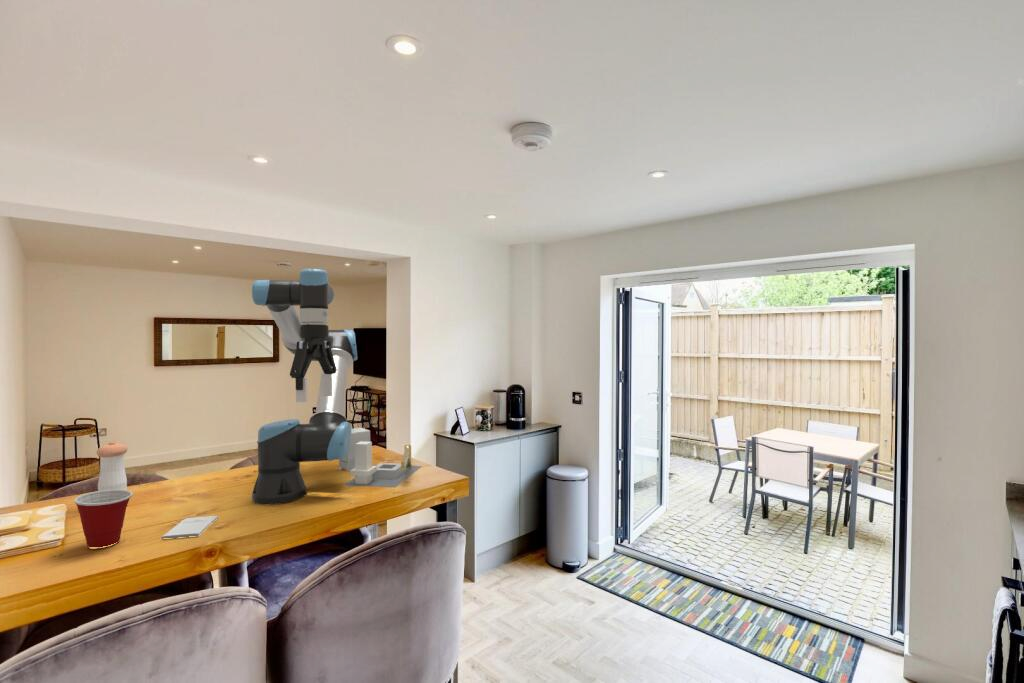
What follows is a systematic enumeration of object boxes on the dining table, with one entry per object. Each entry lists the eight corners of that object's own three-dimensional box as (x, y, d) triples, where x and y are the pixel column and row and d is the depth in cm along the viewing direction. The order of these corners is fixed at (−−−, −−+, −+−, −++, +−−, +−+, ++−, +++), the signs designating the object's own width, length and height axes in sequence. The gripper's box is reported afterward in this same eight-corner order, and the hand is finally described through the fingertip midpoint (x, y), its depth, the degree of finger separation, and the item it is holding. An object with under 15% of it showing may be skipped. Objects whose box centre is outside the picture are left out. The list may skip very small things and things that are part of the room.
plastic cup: (112, 553, 112) (111, 501, 112) (61, 555, 111) (61, 503, 111) (144, 534, 123) (143, 487, 123) (98, 536, 122) (97, 488, 122)
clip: (399, 484, 157) (399, 461, 157) (404, 464, 182) (404, 445, 182) (406, 484, 158) (406, 461, 158) (411, 464, 183) (411, 444, 183)
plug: (350, 484, 159) (349, 444, 159) (359, 479, 165) (358, 440, 165) (368, 485, 158) (368, 445, 158) (377, 479, 164) (376, 441, 164)
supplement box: (361, 465, 189) (361, 427, 189) (371, 470, 182) (371, 430, 182) (338, 470, 183) (337, 429, 183) (347, 475, 176) (346, 433, 176)
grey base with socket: (342, 489, 159) (342, 476, 159) (376, 468, 184) (375, 456, 184) (395, 492, 156) (395, 477, 156) (422, 470, 182) (422, 458, 182)
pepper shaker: (116, 510, 141) (116, 443, 141) (90, 511, 141) (89, 444, 141) (134, 501, 148) (133, 438, 148) (109, 502, 148) (108, 439, 148)
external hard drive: (161, 542, 120) (184, 523, 132) (198, 539, 121) (217, 521, 134) (161, 536, 120) (184, 517, 132) (198, 533, 121) (217, 515, 134)
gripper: (301, 322, 126) (302, 405, 126) (347, 325, 151) (348, 394, 151) (274, 323, 127) (275, 404, 127) (324, 325, 152) (325, 393, 152)
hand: (315, 399), depth 139 cm, fingers open, 13 cm apart
